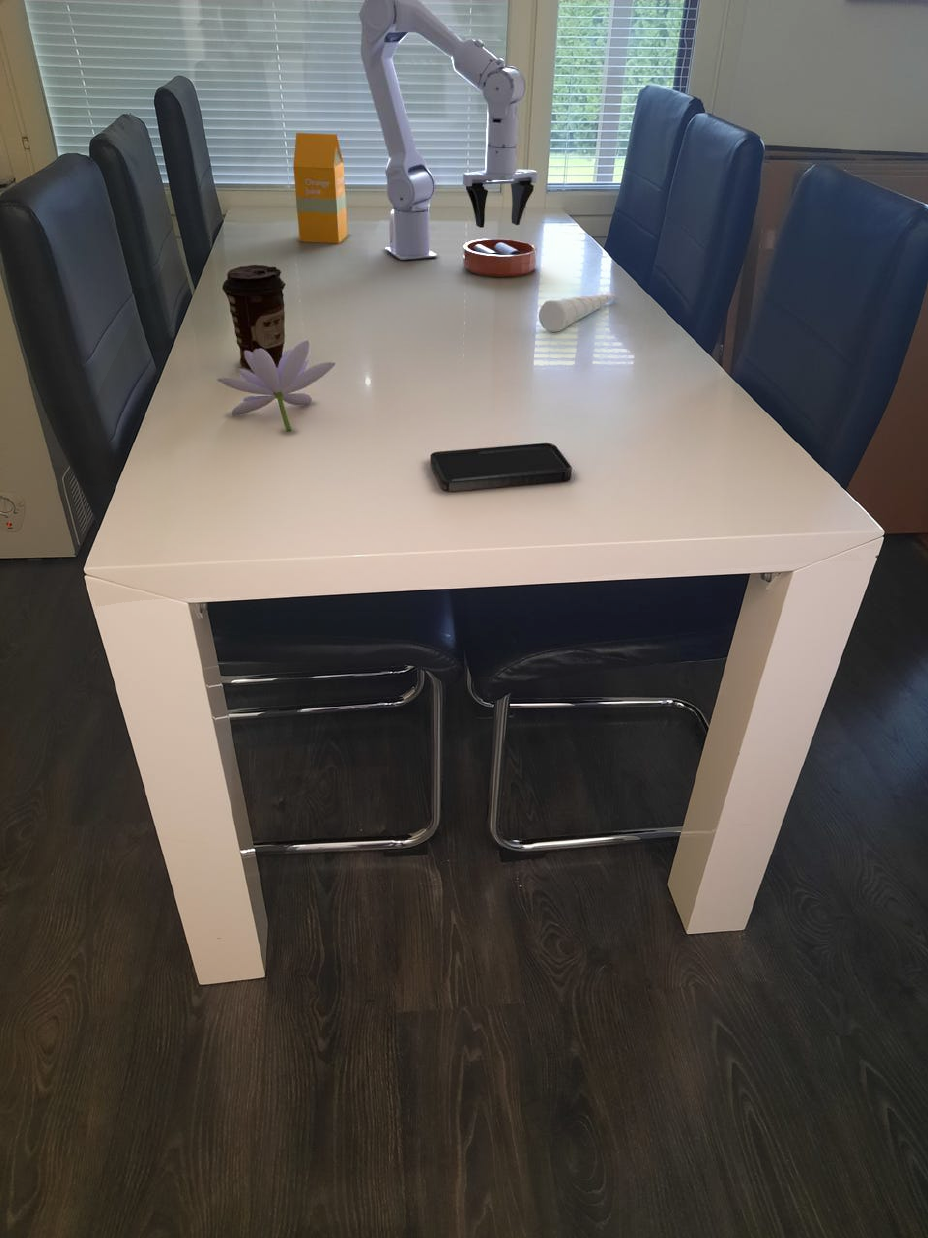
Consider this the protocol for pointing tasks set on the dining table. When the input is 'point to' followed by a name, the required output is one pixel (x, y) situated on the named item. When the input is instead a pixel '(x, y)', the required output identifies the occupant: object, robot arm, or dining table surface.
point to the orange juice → (320, 188)
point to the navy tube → (505, 249)
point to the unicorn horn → (569, 310)
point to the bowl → (500, 258)
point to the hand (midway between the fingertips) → (497, 225)
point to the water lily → (276, 379)
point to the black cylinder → (484, 250)
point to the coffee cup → (257, 310)
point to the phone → (499, 466)
